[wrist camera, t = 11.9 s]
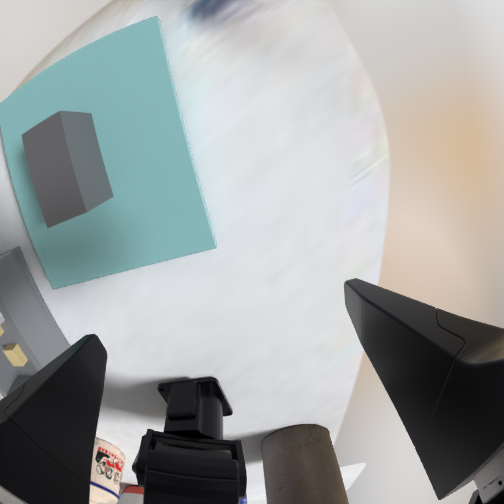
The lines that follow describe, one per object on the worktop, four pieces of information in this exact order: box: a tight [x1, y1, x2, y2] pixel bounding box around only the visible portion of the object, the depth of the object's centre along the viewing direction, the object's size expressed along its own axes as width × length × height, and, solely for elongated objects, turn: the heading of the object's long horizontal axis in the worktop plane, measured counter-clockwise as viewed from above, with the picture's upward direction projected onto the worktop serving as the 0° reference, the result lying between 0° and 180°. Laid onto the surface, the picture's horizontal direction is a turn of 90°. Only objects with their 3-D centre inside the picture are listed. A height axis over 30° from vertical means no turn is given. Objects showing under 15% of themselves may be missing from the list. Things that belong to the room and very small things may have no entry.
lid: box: [0, 16, 217, 290], centre depth 15 cm, size 17×15×6 cm
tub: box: [0, 247, 71, 398], centre depth 20 cm, size 16×14×5 cm
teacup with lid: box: [89, 438, 125, 504], centre depth 27 cm, size 12×9×12 cm
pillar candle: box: [261, 424, 349, 504], centre depth 26 cm, size 10×10×15 cm
